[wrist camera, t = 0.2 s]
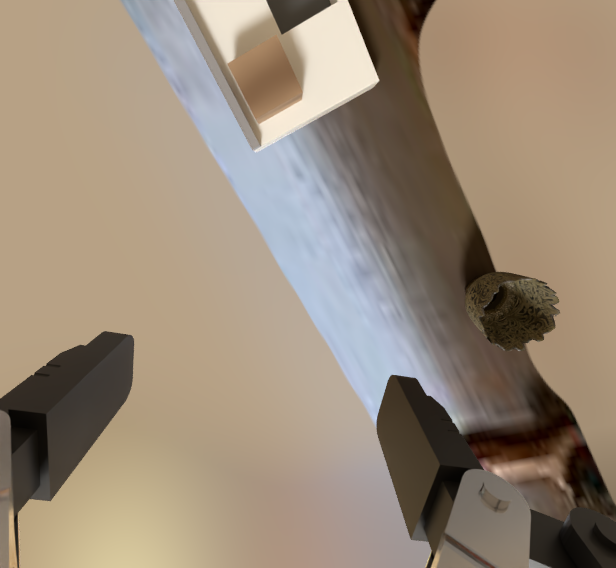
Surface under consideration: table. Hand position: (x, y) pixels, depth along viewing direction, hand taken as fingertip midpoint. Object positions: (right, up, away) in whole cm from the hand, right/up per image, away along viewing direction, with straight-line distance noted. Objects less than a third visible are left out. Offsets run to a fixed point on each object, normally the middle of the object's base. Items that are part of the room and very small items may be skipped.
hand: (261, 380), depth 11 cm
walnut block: (-2, +21, +20) cm, 29 cm away
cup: (+21, +2, +29) cm, 36 cm away
